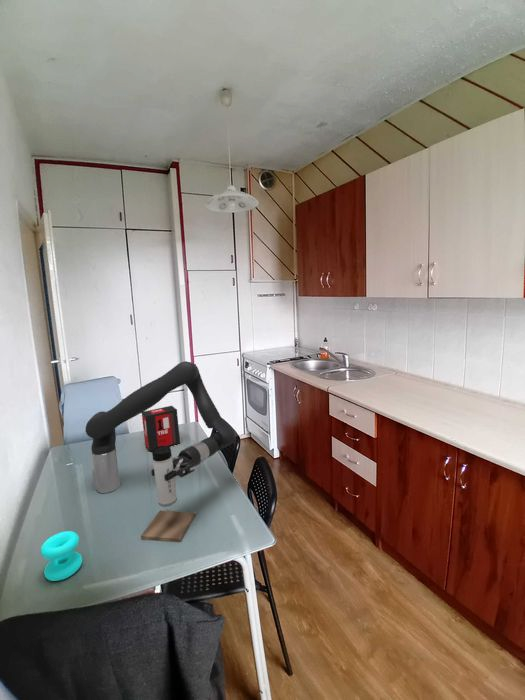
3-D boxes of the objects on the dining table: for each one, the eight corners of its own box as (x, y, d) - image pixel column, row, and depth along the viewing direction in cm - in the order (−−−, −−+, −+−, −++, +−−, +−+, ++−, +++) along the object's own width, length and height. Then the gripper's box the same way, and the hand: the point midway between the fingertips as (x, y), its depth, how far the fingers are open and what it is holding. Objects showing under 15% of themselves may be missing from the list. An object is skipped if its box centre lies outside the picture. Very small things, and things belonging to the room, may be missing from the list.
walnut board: (141, 539, 117) (140, 536, 117) (160, 513, 131) (159, 510, 130) (180, 542, 115) (180, 539, 114) (195, 515, 128) (195, 512, 128)
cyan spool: (58, 527, 110) (85, 530, 108) (62, 556, 111) (90, 559, 109) (31, 550, 100) (61, 554, 98) (36, 581, 102) (66, 585, 100)
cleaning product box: (175, 439, 199) (171, 405, 195) (180, 444, 191) (176, 409, 188) (145, 447, 190) (141, 412, 187) (149, 452, 183) (145, 416, 179)
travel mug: (159, 497, 124) (152, 445, 121) (178, 495, 125) (172, 443, 121) (155, 508, 118) (148, 453, 115) (175, 506, 118) (168, 451, 115)
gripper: (180, 442, 134) (143, 460, 121) (207, 449, 126) (171, 470, 113) (182, 460, 136) (146, 480, 122) (209, 469, 127) (174, 492, 114)
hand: (158, 475), depth 117 cm, fingers closed on travel mug, 6 cm apart
